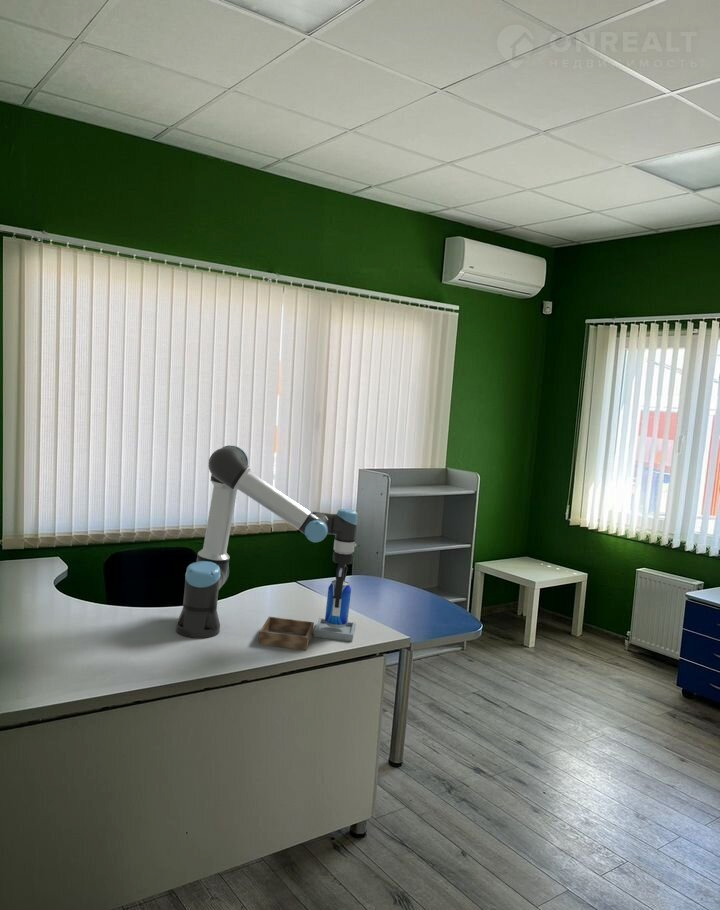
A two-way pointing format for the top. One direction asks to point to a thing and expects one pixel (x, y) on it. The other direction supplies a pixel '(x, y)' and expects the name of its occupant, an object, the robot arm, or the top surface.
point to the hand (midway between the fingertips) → (337, 611)
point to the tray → (334, 631)
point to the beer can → (345, 602)
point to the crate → (286, 639)
